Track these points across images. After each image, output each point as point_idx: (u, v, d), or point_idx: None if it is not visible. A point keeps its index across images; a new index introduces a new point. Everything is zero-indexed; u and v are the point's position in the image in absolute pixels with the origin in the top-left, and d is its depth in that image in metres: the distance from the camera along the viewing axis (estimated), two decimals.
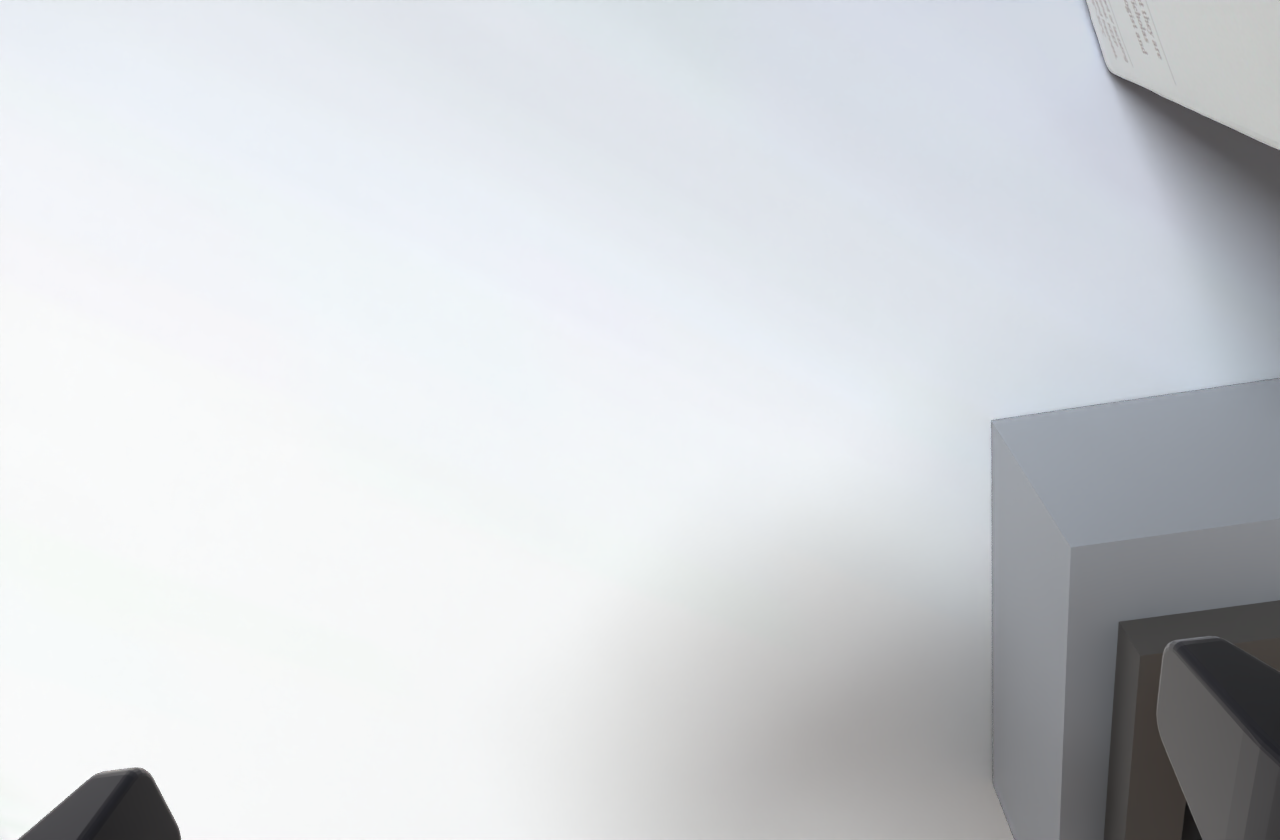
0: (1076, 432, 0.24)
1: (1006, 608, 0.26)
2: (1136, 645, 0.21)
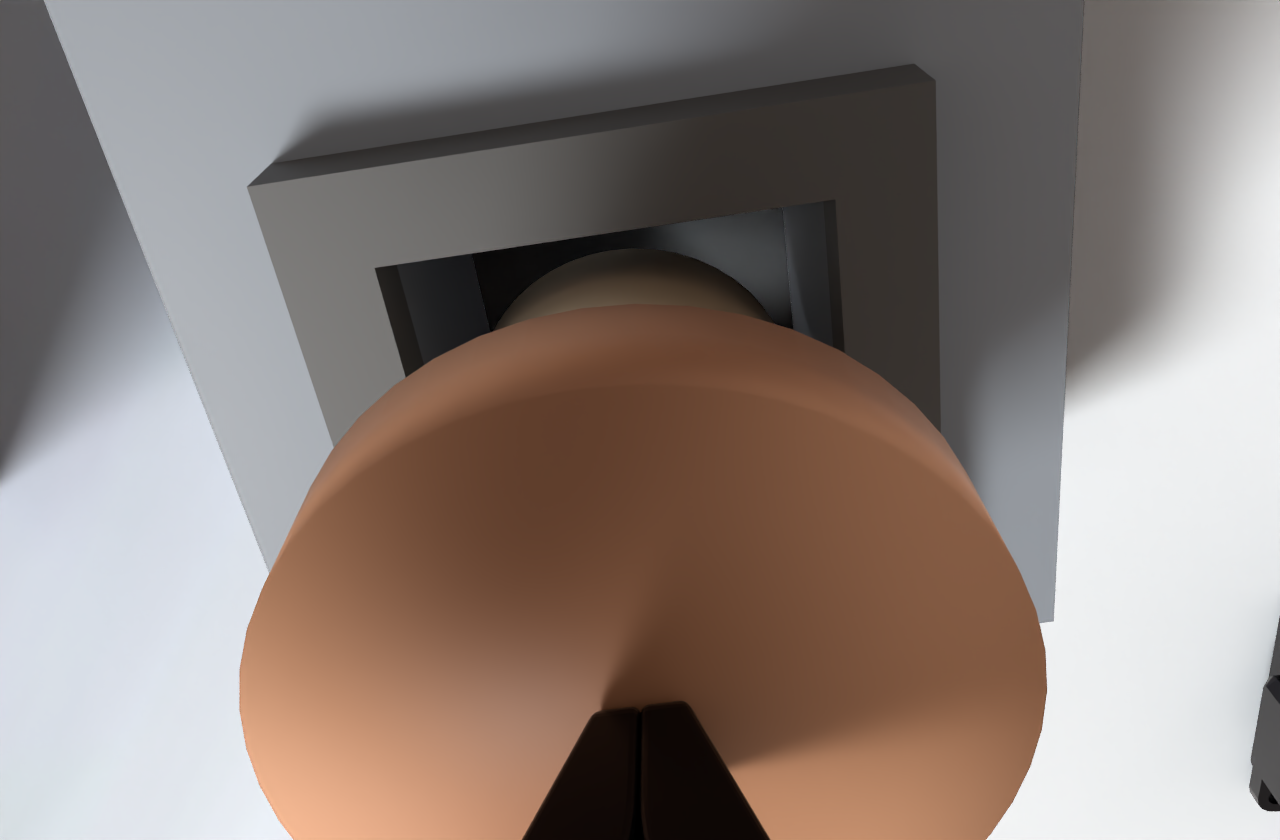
0: None
1: None
2: None
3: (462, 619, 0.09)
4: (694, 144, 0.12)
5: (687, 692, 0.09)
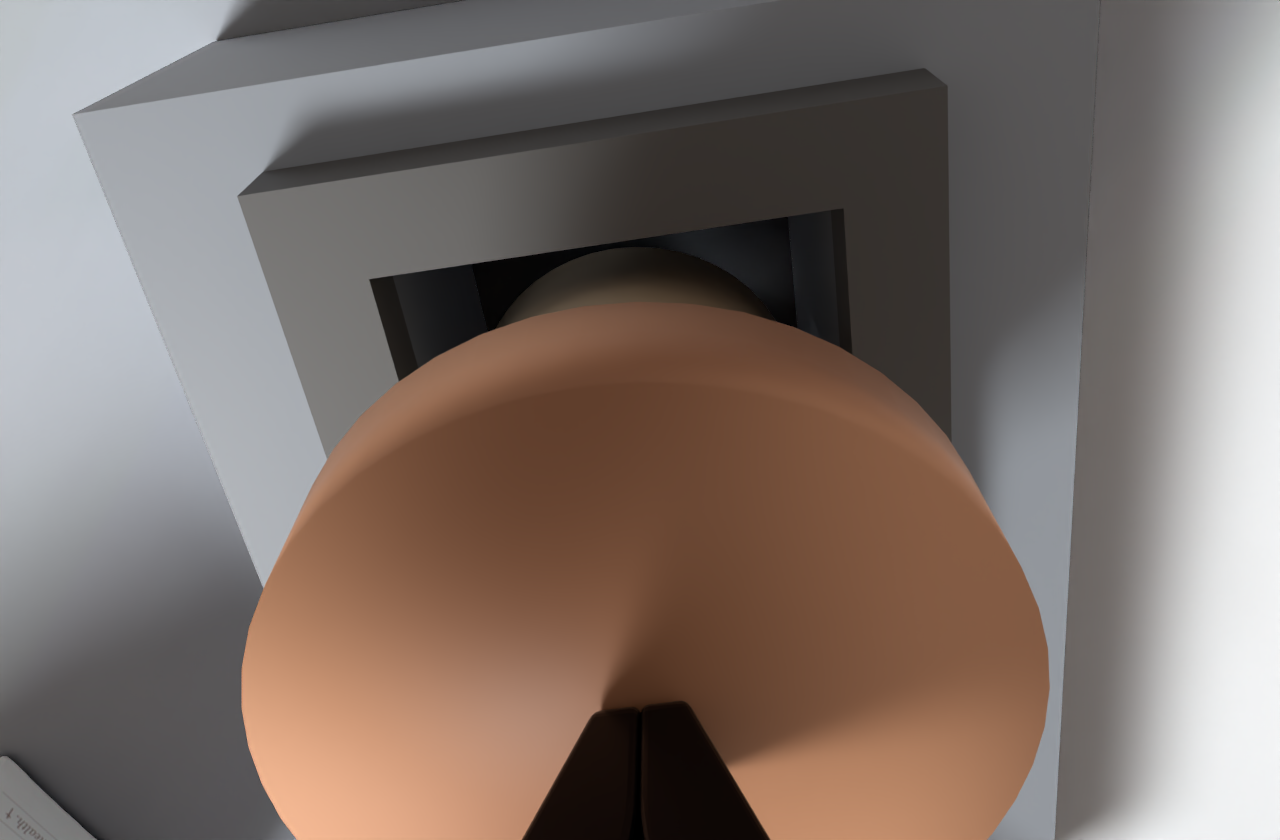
0: None
1: None
2: None
3: None
4: None
5: None
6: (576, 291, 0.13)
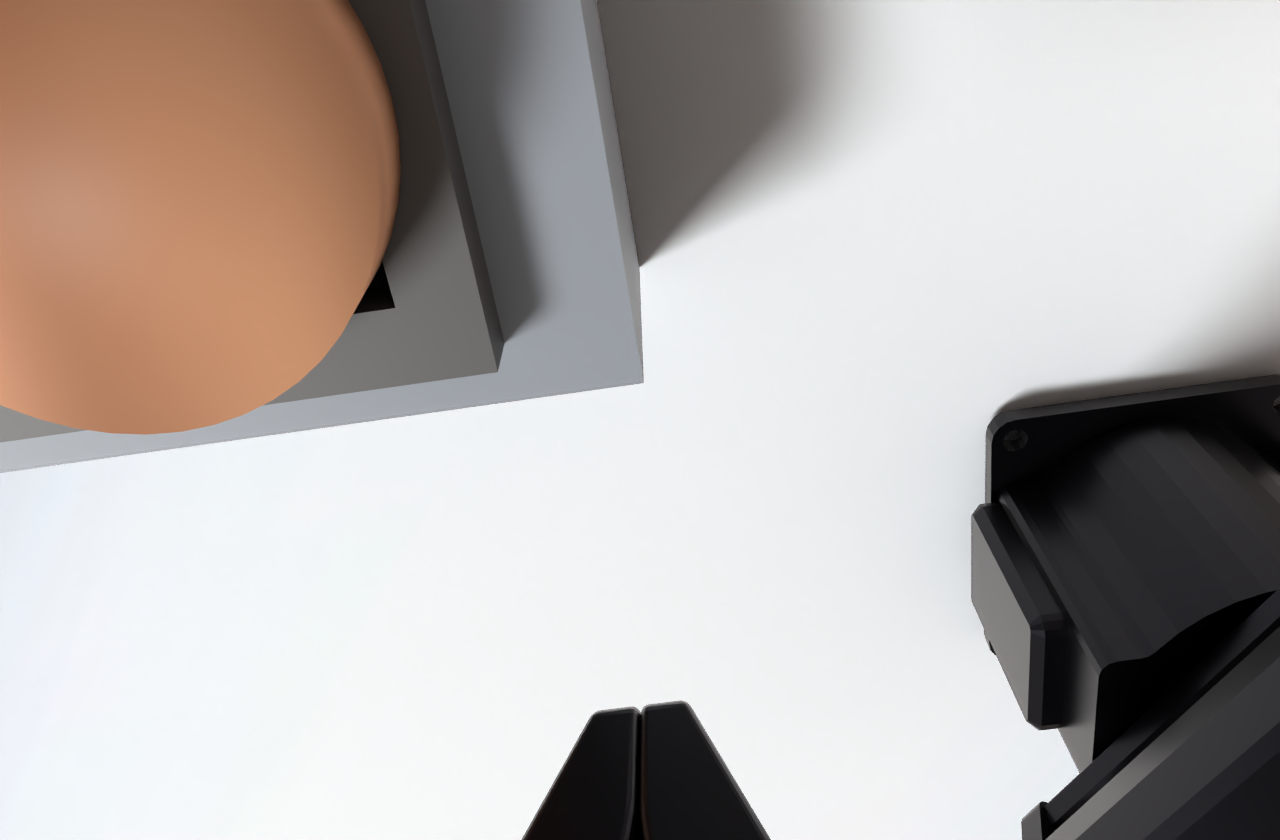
0: None
1: None
2: None
3: None
4: None
5: (94, 127, 0.12)
6: None
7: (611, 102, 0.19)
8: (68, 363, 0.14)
